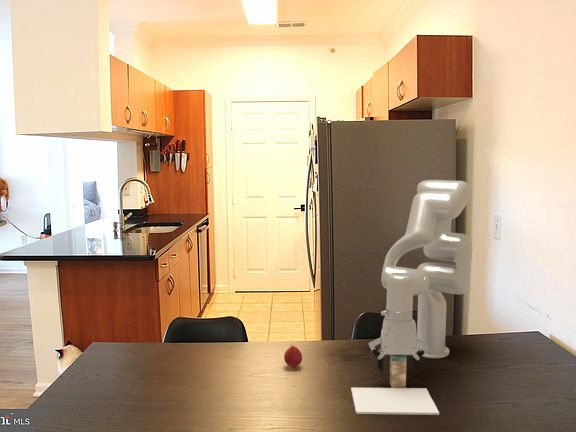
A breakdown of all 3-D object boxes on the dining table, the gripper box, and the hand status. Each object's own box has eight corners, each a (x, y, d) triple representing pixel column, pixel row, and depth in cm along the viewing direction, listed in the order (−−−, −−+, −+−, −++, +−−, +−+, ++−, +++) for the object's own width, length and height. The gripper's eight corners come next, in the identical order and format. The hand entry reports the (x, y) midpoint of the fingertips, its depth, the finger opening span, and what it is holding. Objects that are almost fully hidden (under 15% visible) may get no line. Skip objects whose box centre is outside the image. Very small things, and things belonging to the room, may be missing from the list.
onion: (304, 365, 164) (304, 342, 163) (299, 373, 159) (299, 348, 158) (287, 363, 166) (287, 340, 165) (281, 370, 161) (281, 346, 160)
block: (392, 388, 148) (392, 356, 147) (389, 382, 152) (390, 351, 151) (405, 388, 148) (406, 356, 147) (402, 382, 152) (403, 351, 151)
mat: (356, 413, 134) (356, 411, 134) (351, 389, 148) (351, 387, 148) (439, 414, 133) (439, 412, 133) (426, 390, 147) (426, 388, 147)
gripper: (371, 318, 144) (369, 375, 145) (432, 319, 143) (429, 377, 145) (367, 310, 151) (366, 365, 153) (425, 311, 151) (423, 366, 152)
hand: (397, 371), depth 149 cm, fingers open, 9 cm apart
